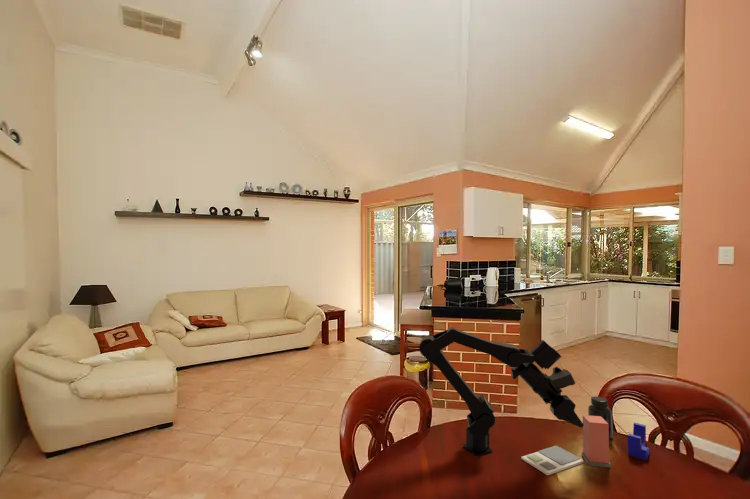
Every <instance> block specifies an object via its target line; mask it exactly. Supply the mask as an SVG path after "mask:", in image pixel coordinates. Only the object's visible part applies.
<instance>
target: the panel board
mask: <svg viewBox="0 0 750 499" xmlns="http://www.w3.org/2000/svg"><path fill="white" fill-rule="evenodd" d="M520 458H521V460H522V461H524V462H525V463H527V464H529V465H530V466H532V467H533V468H536V469H537V470H538V471H539V472H542V473H543V474H544V475H546V476H551V475H553V474H555V473H559V472H562V471H563V470H564V471H565V470H567V469H570V468H572V467H576V466H579V465H581V464H584V462H585V459H582V458H581V457H579V456H578V455H575V454H573V453H571V452H569V451H567V449H564V448H562V447H561V446H558V445H553V446H550V447H546V448H543V449H540V450H537V451H536V452H533V453H529V454H526V455H523V456H521V457H520Z"/></svg>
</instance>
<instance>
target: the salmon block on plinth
mask: <svg viewBox="0 0 750 499" xmlns="http://www.w3.org/2000/svg"><path fill="white" fill-rule="evenodd" d="M582 423H583V425H584V426H583V427H582V451H581V456H582V457H583V460H584V461H585V462H586V463H587V465H588V466H590V467H591V466H593V467H602V468H612V464H611V462H610V439H609V424H608V423H607V422H606V421H605V420H604V419H603V418H602V417H601V416H589V415H588V414H583V415H582Z"/></svg>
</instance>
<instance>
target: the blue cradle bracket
mask: <svg viewBox="0 0 750 499" xmlns="http://www.w3.org/2000/svg"><path fill="white" fill-rule="evenodd" d="M646 427H647V425H646V424H641V423H639V422H638V423H637V422H633V429H632V431H633V433H628V434H627V455H628V456H631V457H634V458H637V459H640V460H644V461H647V460H648V458H649V455H650V448H649V447H648V446H647V445H646V444H647V428H646ZM641 440H642V441H641ZM644 441H646V442H644Z"/></svg>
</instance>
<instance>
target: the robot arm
mask: <svg viewBox="0 0 750 499" xmlns="http://www.w3.org/2000/svg"><path fill="white" fill-rule="evenodd" d="M453 343H455V344H459V345H460V346H461V345H462V346H465V347H466V348H469V349H472V350H475V351H479V352H481V353H483V354H484V353H485V354H486V355H489V356H491V357H493V358H495V359H496V360H498V361H499V362H501V363H503V364H505V365H507V366H508V367H510V376H511V378H512V379H513V380H516V379H517V378H518V377H520V378H521V379H522V380H523V381H524V382H525V383H526V384H527V386H528V387H529V388H531V390H532V391H533V392H534V393H535V394H537V395H538V396H539V397H540V398H541V399H542V401H543V402H544V403H545V405H548V404H549V410H550V411H551V413H552V415H553V416H554V417H555V418H556V419H557V420H560V421H564V422H566V423H569V424H572V425H574V426H576V427H578V428H582V429H583V426H584V425H583V421H581V420H582V419H580V418H579V416H578V414H577V413H576V412H575V409H576V404H575V402H573V400H572V399H571V398H570V397H569V396H568V395H567V394H566V395H565V394H562V392H563V389H564V388H566V387H570V386H574V385H575V384H576V381H575V379H574V377H573V375H572V373H571V372H570V371H569V370H567V369H564V368H563V369H561V368H560V367H558V366H554V364H556V363H557V362H558V361H559V360H560V359H561V358H562V355H561V354H560V353H559V351H557V350H555V348H553V347H552V346H551V345H550V344H549V343H547V342H546V341H545V340H544V339H541V340H540V341H539V342H538V344H536V345H535V347H533V348H532V350H529V349H524V348H519V347H518V346H516V345H514V344H513V343H509V342H502V341H501V342H500V341H492V340H489V339H486V338H483V337H480V336H478V335H475V334H471V333H470V332H466V331H462V330H460V329H458V328H456V327H449V328H448V329H446V330H443V331H440V332H438V333H435V334H433V335H430V334H429V335H425V336H423V337H422V338H421V340H420V342H419V347H418V349H419V353H420V355H422V356H423V357H424V358H425V359H426V360H427V361H428V362H429V363H431V364H432V365H434V366H435V367H436V368H438V369H439V371H440V373H442V375H443V376H444V377H445V378H446V380H447V381H448V383H449V384H450V385H451V386H452V387H453V389H454V390H455V391H456V392H457V394H458V395H459V397H460V398H461V399H462V400H463V401H464V403H465V404H466V405H467V407H468V410H469V411H470V412H469V414H467V415H466V420H467V425H468V426H467V427H466V428H465V437H466V438H465V440H466V441H465V443H464V444H462V447H463V448H464V449H466V450H468V452H470V453H471V454H472V455H474V456H475V457H476V456H477V457H478V456H481V455H486V454H489V453H492V452H493V449H492V448H491V446H490V441H491V440H490V437H491V436H490V432H489V431H490V429H491V428H493V426H494V425H495V423H496V417H495V414H494V412H495V411H494V408H493V406H492V403H491V402H490V401H488V399H487V398H486V396H485V395H484V394H483V393H482V394H481V395H478V394H477V393H476V392H474V391H473V389H472V388H471V387H470V386H469V384H468V383H467V382H466V381H465V379H464V378H463V376H462V375H461V374H460V373H459V372H458V370H457V369H456V368H455V367H454V365H453V364H452V363H451V362H450V361H449V360H448V358H447V356H446V355H445V353H444V351H443V349H445V348H446V347H448V346H450V345H451V344H453ZM534 362H535V363H534ZM536 364H537V365H538V366H537V365H536ZM552 366H554V367H553V368H552V373H551V374H550V375H547V374H546V373H544V372H543V371H542V370H543V369H545V370H549V369H550V368H551V367H552ZM539 367H540V368H541V369H542V370H540V368H539Z"/></svg>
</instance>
